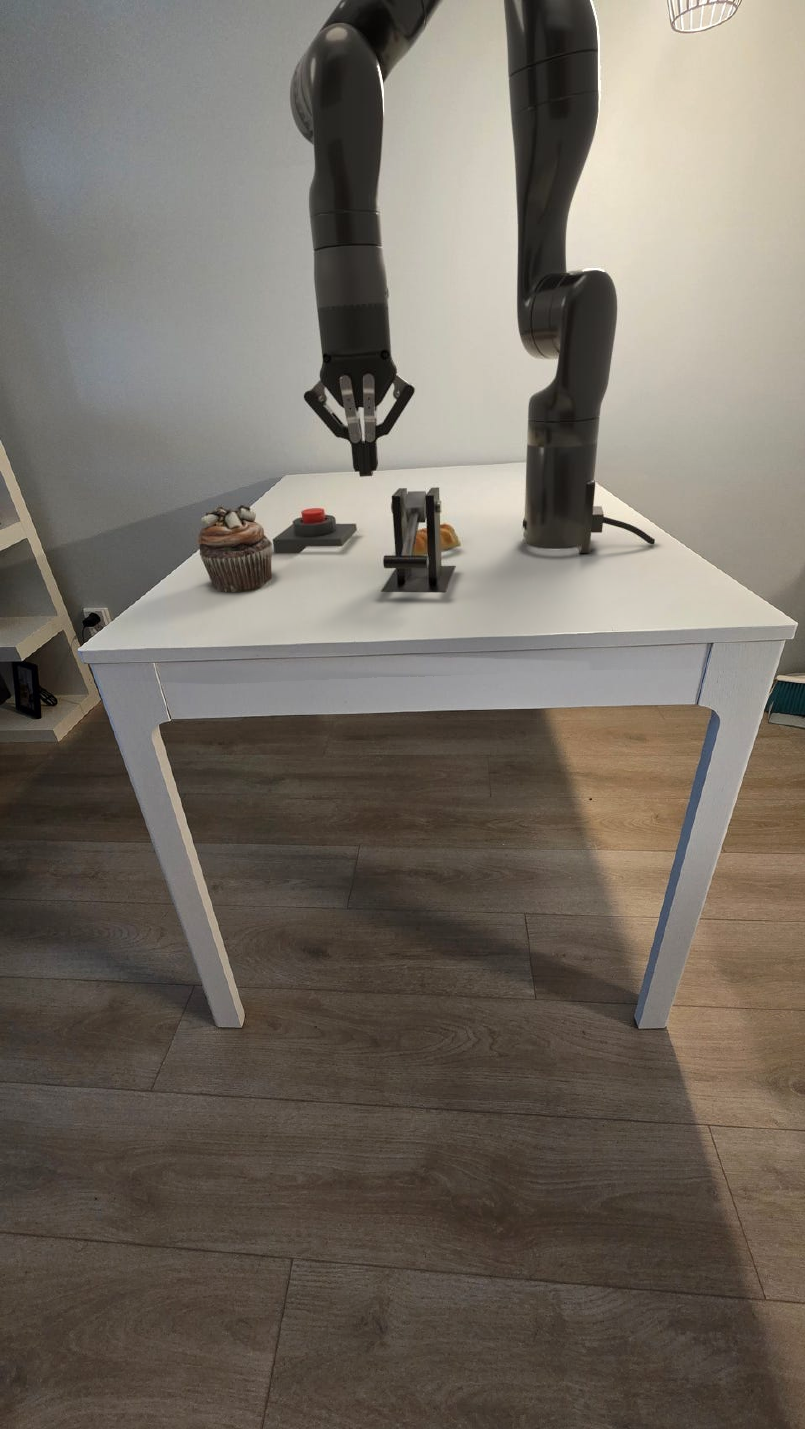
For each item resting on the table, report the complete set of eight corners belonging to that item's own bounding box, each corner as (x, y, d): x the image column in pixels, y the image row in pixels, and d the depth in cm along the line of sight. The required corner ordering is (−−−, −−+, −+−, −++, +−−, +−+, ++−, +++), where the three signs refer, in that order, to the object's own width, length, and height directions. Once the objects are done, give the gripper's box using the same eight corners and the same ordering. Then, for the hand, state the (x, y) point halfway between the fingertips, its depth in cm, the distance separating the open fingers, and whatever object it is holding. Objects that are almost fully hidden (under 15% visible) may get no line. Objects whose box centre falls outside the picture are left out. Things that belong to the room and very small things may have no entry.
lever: (428, 574, 73) (425, 558, 71) (385, 573, 74) (381, 558, 72) (439, 506, 78) (437, 490, 76) (399, 507, 79) (396, 491, 77)
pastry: (415, 567, 89) (413, 540, 87) (385, 558, 94) (383, 532, 92) (464, 552, 94) (464, 525, 92) (434, 544, 99) (433, 519, 97)
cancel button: (328, 519, 101) (327, 507, 101) (321, 525, 98) (320, 513, 98) (306, 519, 102) (305, 508, 101) (299, 525, 99) (297, 513, 98)
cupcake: (197, 596, 84) (179, 519, 79) (219, 572, 93) (204, 501, 88) (268, 593, 84) (255, 515, 79) (284, 570, 92) (273, 498, 87)
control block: (357, 537, 105) (355, 512, 103) (342, 553, 97) (339, 526, 95) (294, 537, 107) (290, 513, 105) (274, 553, 99) (270, 527, 97)
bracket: (445, 601, 77) (443, 500, 71) (381, 600, 79) (373, 501, 73) (456, 574, 86) (454, 482, 80) (397, 574, 87) (391, 483, 81)
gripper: (282, 306, 65) (306, 484, 74) (413, 296, 64) (421, 478, 73) (297, 308, 71) (317, 472, 80) (416, 299, 70) (423, 466, 79)
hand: (366, 475), depth 76 cm, fingers closed
